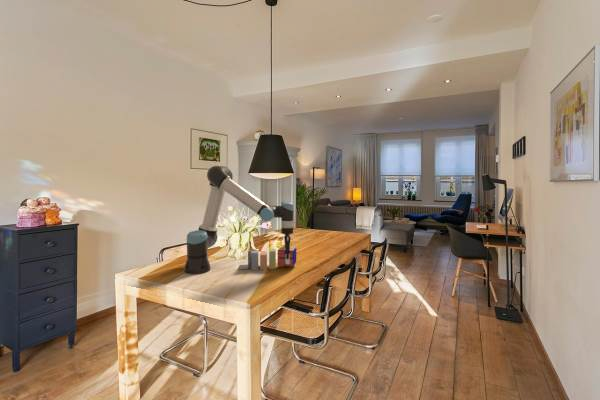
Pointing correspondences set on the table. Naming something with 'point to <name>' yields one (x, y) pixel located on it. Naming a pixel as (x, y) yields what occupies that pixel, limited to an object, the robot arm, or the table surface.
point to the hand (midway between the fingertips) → (287, 261)
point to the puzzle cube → (282, 256)
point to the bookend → (248, 267)
